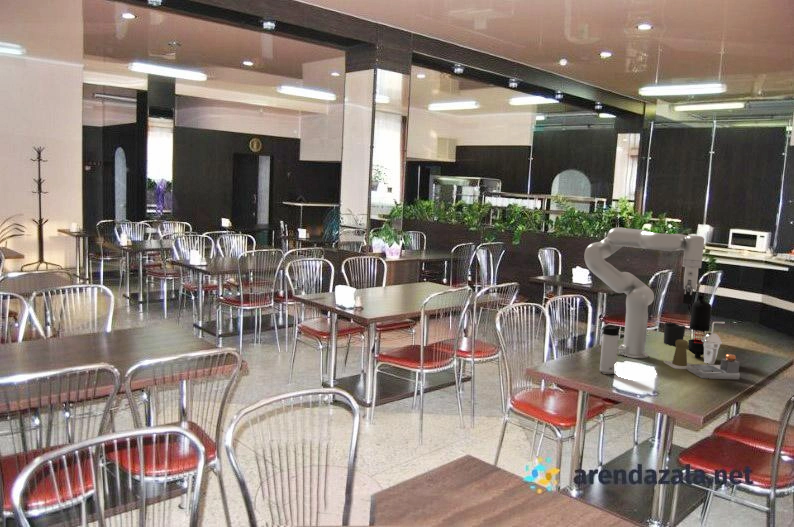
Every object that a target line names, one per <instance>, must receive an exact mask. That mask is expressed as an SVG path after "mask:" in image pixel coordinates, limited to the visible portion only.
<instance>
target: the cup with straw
mask: <svg viewBox="0 0 794 527" xmlns="http://www.w3.org/2000/svg"><path fill="white" fill-rule="evenodd" d="M715 324H726V321H713V322H712V323H711V330H710V332H707V333H706V334H705V335H704V336H702V338H701V339H700V340H701V341H702V342H703V350H704V355H703V363H705V364H707V363H708V364H707V365H716V363H715V362H716V361H717V356H718V352H719V348H720V347H721V345H722V344H723V341H722V340H721V337H720V336H719V335H718V333H714V327H715Z"/></svg>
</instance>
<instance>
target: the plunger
mask: <svg viewBox="0 0 794 527" xmlns="http://www.w3.org/2000/svg"><path fill="white" fill-rule="evenodd" d="M736 358H737V357H736V354H731V353H726V354H725V359H727V360H728V361H734V360H736Z"/></svg>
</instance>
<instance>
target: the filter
mask: <svg viewBox="0 0 794 527" xmlns="http://www.w3.org/2000/svg"><path fill="white" fill-rule="evenodd" d="M711 315H712V305H711V304H710V303H709V302H707V301H705V298H704V296H703V295H699V296H698V300H696V301H694V302H693V303H692V305H691V314H690V322H689V323H690V324H689V329H690V330H693V331H694V332H695V333H694V338H693V339H689V340H688V347H687V348H688V350H689V352H690V353H691V354H693V355H694V358H695V359H701V357H702V356H704V350H703V342H702V341H701V340H702V338H701V337H704V336H705V335H704V333H705V332H709V331H710V326H711ZM696 336H697V337H696Z"/></svg>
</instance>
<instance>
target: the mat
mask: <svg viewBox="0 0 794 527" xmlns="http://www.w3.org/2000/svg"><path fill="white" fill-rule="evenodd" d="M672 362H673V360H663V363H664V364H666V365H667V366H670V367H671V368H672V369H676V370H679V369H680V370H687V366H678V365H674V364H672ZM687 364H690V363H689V362H687Z"/></svg>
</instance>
